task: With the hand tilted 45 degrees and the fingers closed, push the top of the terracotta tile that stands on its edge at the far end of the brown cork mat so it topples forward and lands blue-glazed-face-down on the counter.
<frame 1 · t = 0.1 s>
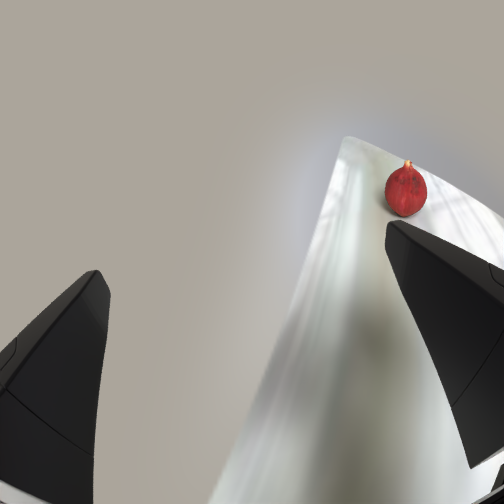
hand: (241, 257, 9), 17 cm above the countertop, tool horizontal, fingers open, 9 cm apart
onion: (403, 217, 39), on the countertop
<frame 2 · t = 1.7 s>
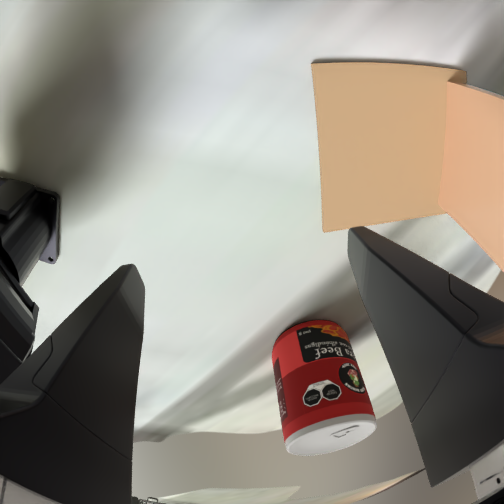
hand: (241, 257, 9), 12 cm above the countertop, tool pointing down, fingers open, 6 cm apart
dish rack: (163, 503, 95), on the countertop
tile: (454, 145, 19), resting on mat
canned food: (308, 341, 31), on the countertop
mat: (398, 146, 20), on the countertop
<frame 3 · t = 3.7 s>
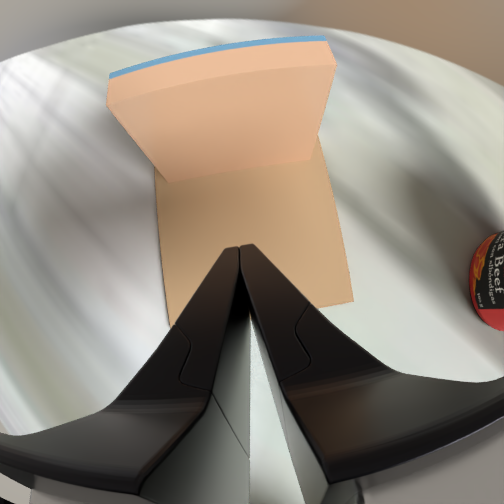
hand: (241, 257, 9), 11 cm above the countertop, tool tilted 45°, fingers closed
tile: (236, 157, 21), resting on mat
canned food: (498, 282, 20), on the countertop
mat: (248, 226, 21), on the countertop
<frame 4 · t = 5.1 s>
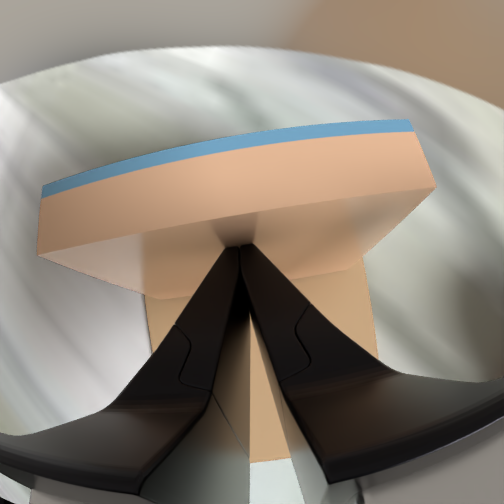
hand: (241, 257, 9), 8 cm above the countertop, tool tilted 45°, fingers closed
tile: (250, 267, 17), resting on mat, touching gripper
mat: (265, 359, 16), on the countertop
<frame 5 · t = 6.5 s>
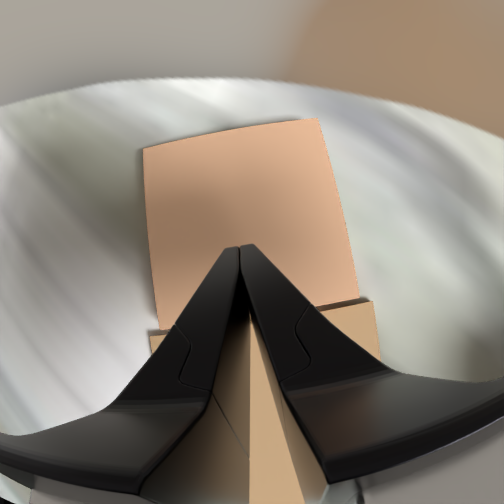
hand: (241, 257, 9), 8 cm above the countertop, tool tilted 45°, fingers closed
tile: (259, 315, 16), on the countertop, tilted 90°
mat: (277, 426, 15), on the countertop
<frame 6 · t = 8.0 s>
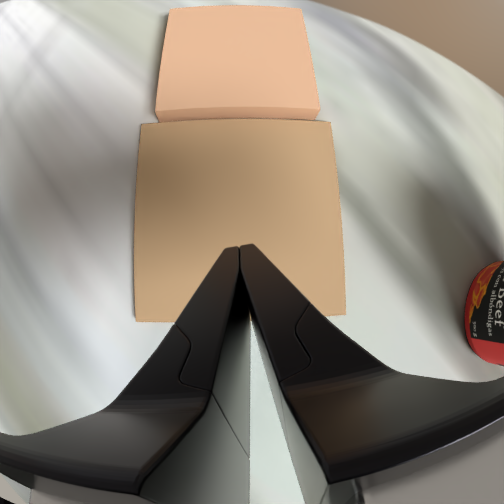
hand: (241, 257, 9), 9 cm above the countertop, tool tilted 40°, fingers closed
tile: (237, 114, 18), on the countertop, tilted 90°
canned food: (491, 312, 19), on the countertop
mat: (238, 214, 18), on the countertop
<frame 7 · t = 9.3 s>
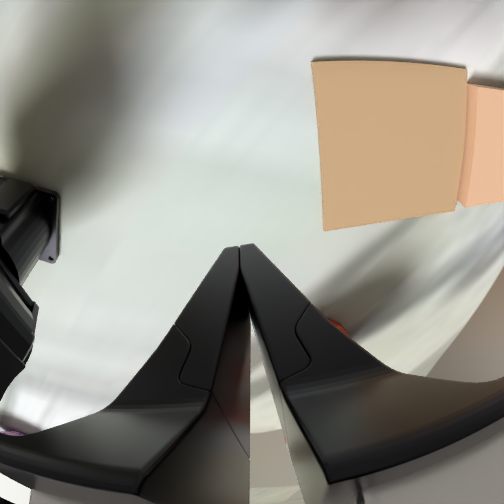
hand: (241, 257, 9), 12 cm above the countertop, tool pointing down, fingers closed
tile: (466, 145, 19), on the countertop, tilted 90°
mat: (399, 144, 20), on the countertop
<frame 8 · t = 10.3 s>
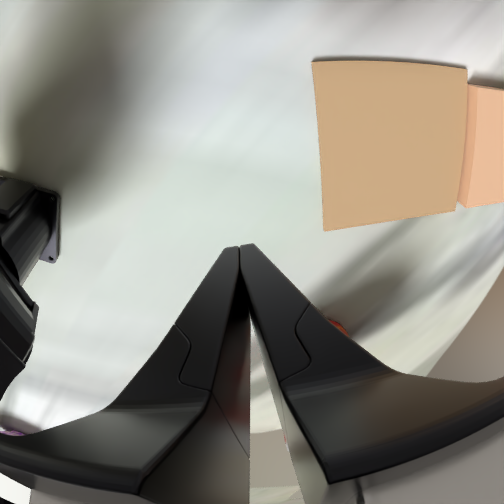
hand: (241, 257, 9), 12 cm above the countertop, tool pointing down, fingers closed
tile: (466, 146, 19), on the countertop, tilted 90°
mat: (399, 144, 20), on the countertop
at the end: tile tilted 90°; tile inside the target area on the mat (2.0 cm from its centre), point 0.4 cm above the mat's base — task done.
